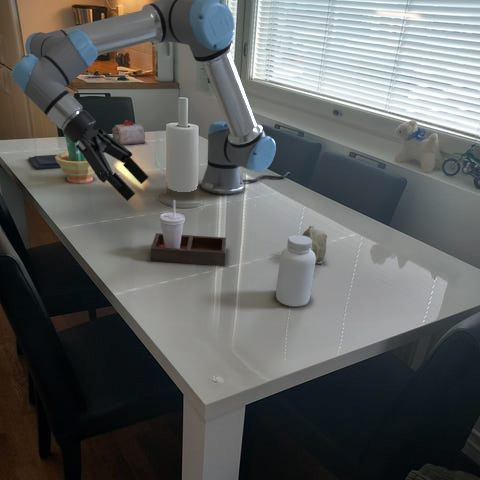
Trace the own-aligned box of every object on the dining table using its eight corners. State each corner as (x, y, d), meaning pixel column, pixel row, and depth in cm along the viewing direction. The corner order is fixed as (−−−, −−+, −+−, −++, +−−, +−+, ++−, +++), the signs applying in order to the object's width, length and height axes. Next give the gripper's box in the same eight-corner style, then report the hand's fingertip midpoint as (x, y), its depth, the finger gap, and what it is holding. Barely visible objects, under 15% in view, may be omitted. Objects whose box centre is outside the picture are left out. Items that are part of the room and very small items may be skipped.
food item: (118, 146, 224) (116, 123, 218) (111, 142, 229) (110, 119, 224) (146, 144, 230) (146, 121, 225) (139, 140, 236) (138, 118, 230)
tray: (156, 245, 137) (155, 233, 135) (225, 249, 138) (226, 237, 136) (150, 261, 129) (150, 248, 127) (224, 265, 130) (225, 252, 128)
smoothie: (180, 258, 130) (180, 206, 122) (156, 254, 130) (155, 202, 123) (187, 248, 135) (188, 197, 128) (164, 244, 136) (164, 194, 128)
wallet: (34, 164, 185) (28, 154, 197) (34, 169, 186) (28, 158, 198) (88, 161, 194) (79, 151, 205) (89, 166, 195) (80, 156, 206)
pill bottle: (272, 290, 120) (279, 231, 112) (305, 291, 121) (314, 232, 113) (277, 307, 113) (285, 246, 105) (312, 308, 114) (322, 247, 106)
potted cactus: (88, 170, 190) (81, 99, 177) (110, 181, 181) (105, 107, 168) (49, 177, 180) (39, 102, 167) (71, 188, 172) (62, 110, 158)
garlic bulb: (307, 273, 134) (305, 245, 127) (291, 256, 140) (288, 228, 132) (336, 260, 136) (337, 231, 129) (319, 243, 142) (319, 214, 134)
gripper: (81, 120, 130) (140, 183, 137) (41, 142, 109) (114, 215, 116) (99, 100, 127) (159, 165, 134) (62, 118, 106) (136, 194, 113)
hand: (138, 188), depth 125 cm, fingers open, 13 cm apart
